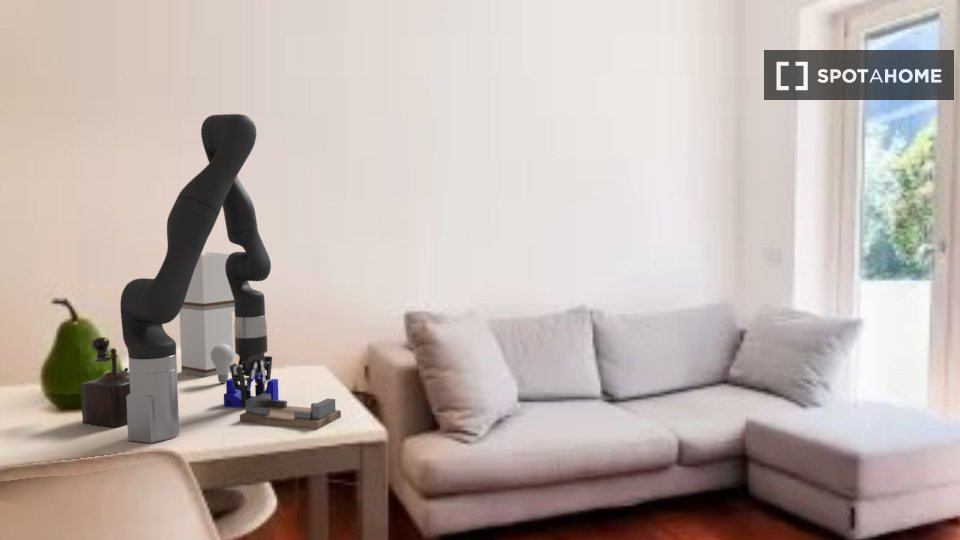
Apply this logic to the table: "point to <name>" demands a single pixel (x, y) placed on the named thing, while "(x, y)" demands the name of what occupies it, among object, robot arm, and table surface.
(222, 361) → the lightbulb
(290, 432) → the table surface
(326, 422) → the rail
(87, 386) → the manual coffee grinder
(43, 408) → the table surface
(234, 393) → the blue curved cradle
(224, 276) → the white square pillar
